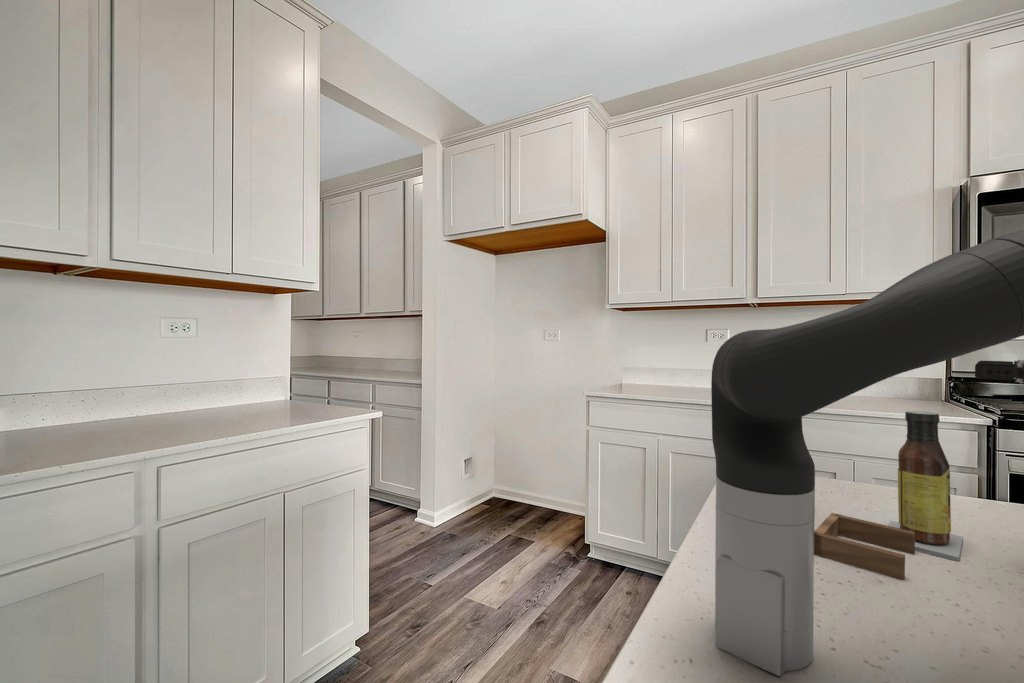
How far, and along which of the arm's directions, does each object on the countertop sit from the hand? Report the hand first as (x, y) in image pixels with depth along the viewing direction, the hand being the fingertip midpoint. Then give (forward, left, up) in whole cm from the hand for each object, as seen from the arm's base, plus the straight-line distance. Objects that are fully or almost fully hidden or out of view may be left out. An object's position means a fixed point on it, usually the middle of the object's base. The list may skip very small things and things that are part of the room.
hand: (976, 369), depth 68 cm
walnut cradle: (-9, +11, -28) cm, 31 cm away
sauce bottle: (+2, +6, -27) cm, 28 cm away
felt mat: (+2, +6, -28) cm, 28 cm away
